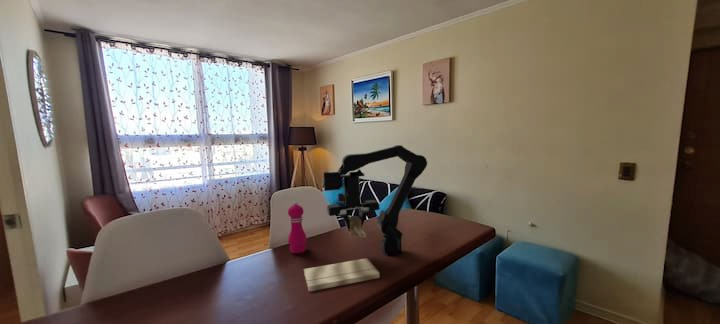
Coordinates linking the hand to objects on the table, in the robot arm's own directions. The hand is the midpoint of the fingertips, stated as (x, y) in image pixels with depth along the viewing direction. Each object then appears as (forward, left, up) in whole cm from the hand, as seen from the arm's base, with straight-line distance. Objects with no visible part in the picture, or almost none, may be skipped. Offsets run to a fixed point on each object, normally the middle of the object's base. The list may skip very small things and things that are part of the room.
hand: (354, 230), depth 106 cm
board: (+9, +13, -10) cm, 19 cm away
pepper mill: (+20, -14, -10) cm, 26 cm away
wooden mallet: (0, +5, -1) cm, 5 cm away
